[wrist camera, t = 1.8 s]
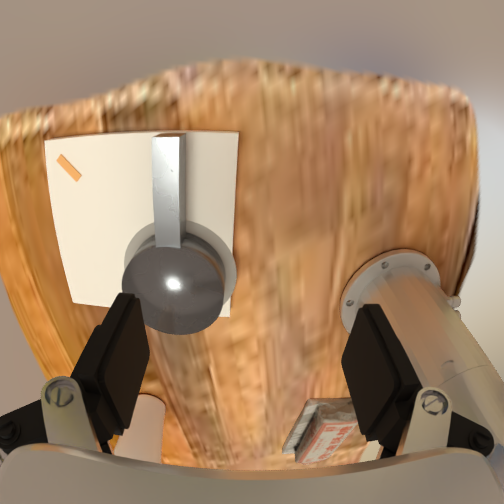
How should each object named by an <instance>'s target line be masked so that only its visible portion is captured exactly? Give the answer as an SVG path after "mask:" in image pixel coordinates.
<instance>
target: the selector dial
mask: <svg viewBox="0 0 504 504" xmlns="http://www.w3.org/2000/svg"><path fill="white" fill-rule="evenodd" d="M185 167H186V133H161V134H158V135H156V136H154V137H152V188H153V210H154V227H155V235H153V236H151V237H149V238H148V239H146V240H145V241H144V242H143V243H142V244H141V245H140V246H139V248H138V249H137V251H136V253H135V254H134V256H133V257H132V259H131V261H130V262H129V264H128V265H127V267H126V269H125V271H124V274H123V277H122V293H132V294H135V297H136V298H139V299H140V303H141V309H142V314H143V320H144V324H146V325H148V326H149V327H151V328H153V329H155V330H158V331H161V332H164V333H168V334H175V335H186V334H192V333H196V332H199V331H201V330H204V329H205V328H207V327H209V326H210V325H211V324H212V323H213V322H214V321H215V320H216V319H217V318H218V316H219V315H220V312H221V310H222V307H223V301H224V290H225V280H226V272H225V267H224V264H223V261H222V259H221V257H220V256H219V254H218V253H217V251H216V250H215V249H214V248H213V247H212V246H211V245H210V244H209V243H208V242H206V241H205V240H203V239H202V238H200V237H198V236H196V235H193V234H191V233H187V232H186V202H185Z"/></svg>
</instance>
